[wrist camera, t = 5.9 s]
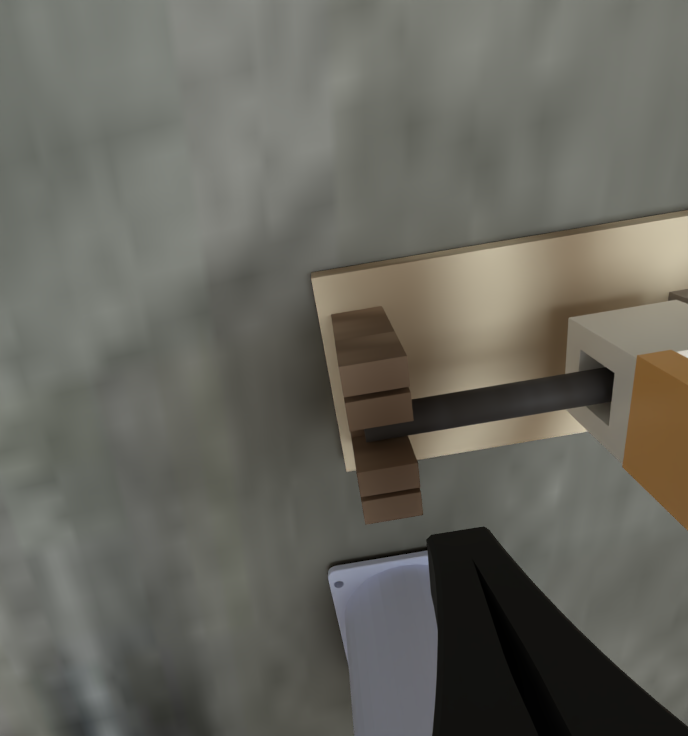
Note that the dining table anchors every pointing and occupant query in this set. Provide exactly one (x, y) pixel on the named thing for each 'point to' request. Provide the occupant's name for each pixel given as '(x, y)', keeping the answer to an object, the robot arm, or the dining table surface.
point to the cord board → (478, 344)
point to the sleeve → (640, 393)
